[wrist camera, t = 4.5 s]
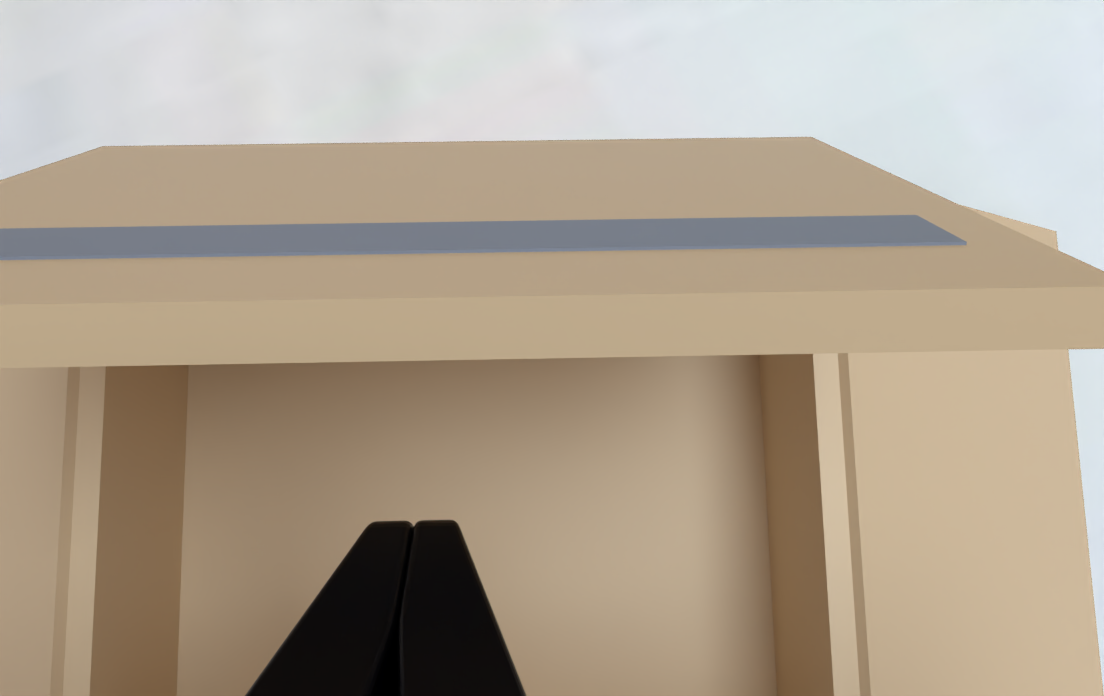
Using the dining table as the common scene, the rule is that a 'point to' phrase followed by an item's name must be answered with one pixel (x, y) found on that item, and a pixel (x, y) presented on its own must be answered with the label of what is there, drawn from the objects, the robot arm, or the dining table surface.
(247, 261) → the far flap
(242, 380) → the carton
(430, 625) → the robot arm
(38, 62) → the dining table surface
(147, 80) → the dining table surface
